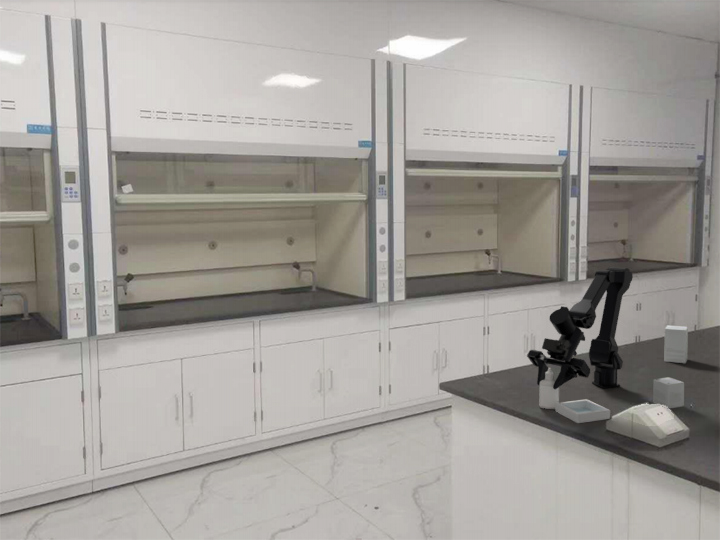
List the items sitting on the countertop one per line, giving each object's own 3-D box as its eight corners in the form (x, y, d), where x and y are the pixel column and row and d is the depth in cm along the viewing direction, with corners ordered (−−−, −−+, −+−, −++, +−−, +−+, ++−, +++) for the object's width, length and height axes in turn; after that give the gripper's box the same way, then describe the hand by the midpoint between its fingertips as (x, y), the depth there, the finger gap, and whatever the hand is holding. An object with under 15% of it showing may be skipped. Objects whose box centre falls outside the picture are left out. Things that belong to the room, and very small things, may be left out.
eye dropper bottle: (554, 411, 185) (554, 371, 183) (536, 407, 189) (537, 367, 187) (561, 407, 188) (562, 368, 187) (543, 403, 192) (544, 364, 190)
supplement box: (687, 359, 239) (688, 326, 238) (685, 363, 233) (686, 330, 232) (666, 357, 243) (667, 324, 242) (663, 361, 237) (664, 328, 235)
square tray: (586, 407, 188) (586, 399, 188) (609, 418, 178) (610, 410, 178) (555, 411, 185) (555, 403, 185) (577, 423, 175) (577, 414, 175)
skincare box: (684, 406, 186) (685, 382, 186) (667, 409, 185) (668, 384, 184) (668, 400, 192) (669, 376, 191) (652, 402, 191) (652, 378, 190)
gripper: (530, 323, 196) (508, 365, 190) (585, 332, 181) (563, 377, 175) (545, 344, 201) (524, 385, 196) (599, 355, 187) (578, 399, 181)
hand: (546, 386), depth 187 cm, fingers closed on eye dropper bottle, 5 cm apart
